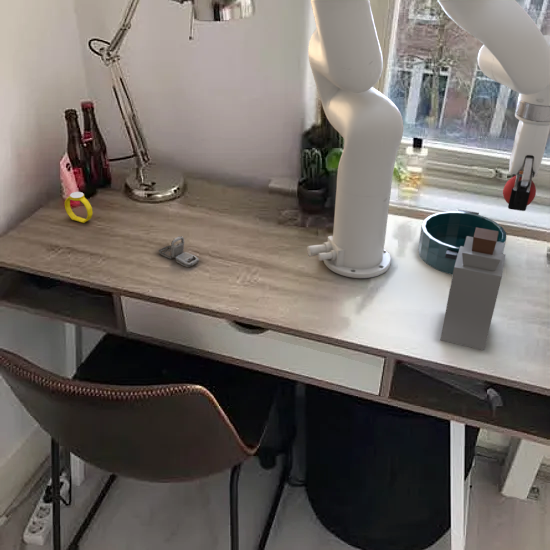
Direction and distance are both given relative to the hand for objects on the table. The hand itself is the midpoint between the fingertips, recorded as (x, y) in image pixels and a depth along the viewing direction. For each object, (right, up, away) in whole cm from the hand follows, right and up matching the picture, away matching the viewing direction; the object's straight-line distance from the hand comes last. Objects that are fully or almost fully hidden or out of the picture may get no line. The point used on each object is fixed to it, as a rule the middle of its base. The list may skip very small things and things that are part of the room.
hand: (517, 201), depth 124 cm
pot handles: (-11, -7, -2) cm, 13 cm away
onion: (0, -2, +1) cm, 2 cm away
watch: (-87, -3, +9) cm, 87 cm away
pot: (-11, -10, 0) cm, 15 cm away
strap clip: (-65, -11, -2) cm, 66 cm away
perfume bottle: (-16, -24, -21) cm, 35 cm away
